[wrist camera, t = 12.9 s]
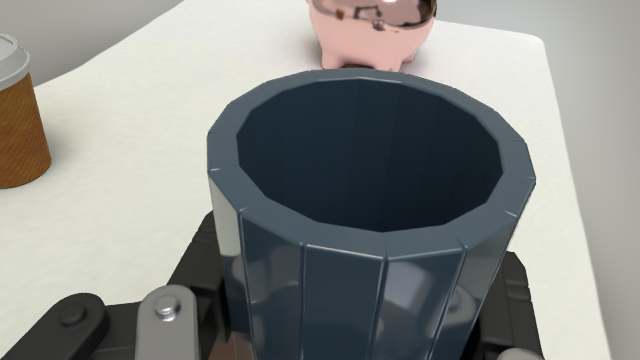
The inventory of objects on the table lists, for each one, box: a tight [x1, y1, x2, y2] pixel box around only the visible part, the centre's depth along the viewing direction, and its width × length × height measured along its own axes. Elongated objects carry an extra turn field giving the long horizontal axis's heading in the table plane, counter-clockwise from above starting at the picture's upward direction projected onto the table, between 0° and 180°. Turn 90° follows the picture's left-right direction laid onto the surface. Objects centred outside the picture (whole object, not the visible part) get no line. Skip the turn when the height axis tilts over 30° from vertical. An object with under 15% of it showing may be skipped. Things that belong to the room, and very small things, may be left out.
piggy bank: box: [306, 0, 437, 72], centre depth 61 cm, size 15×18×16 cm
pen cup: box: [207, 68, 536, 360], centre depth 12 cm, size 6×6×11 cm
